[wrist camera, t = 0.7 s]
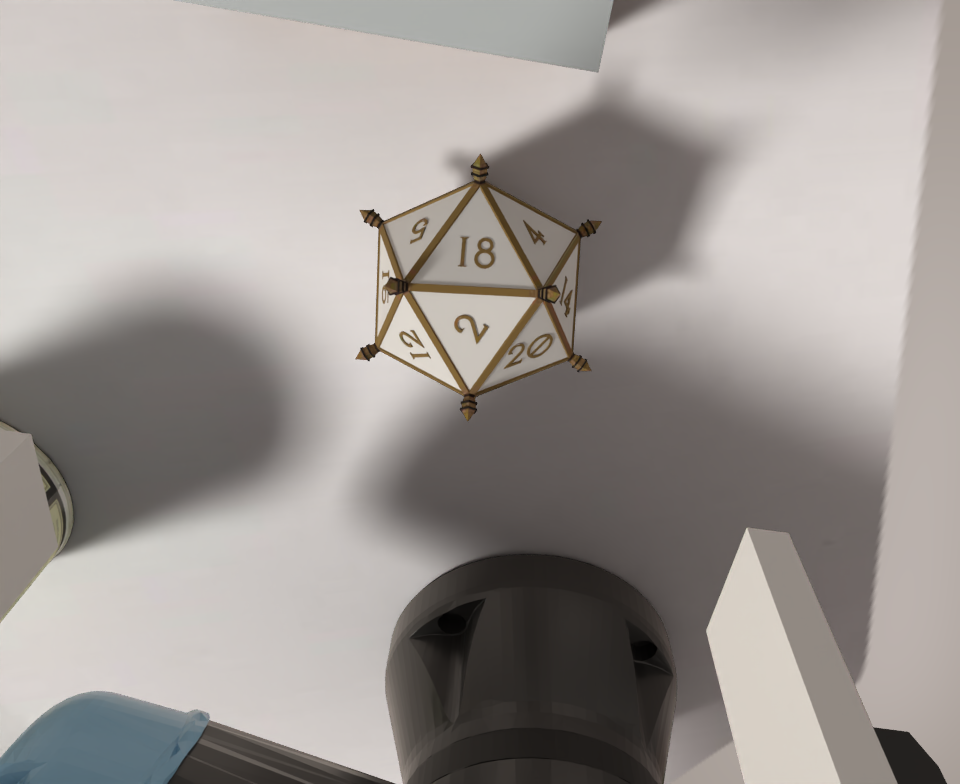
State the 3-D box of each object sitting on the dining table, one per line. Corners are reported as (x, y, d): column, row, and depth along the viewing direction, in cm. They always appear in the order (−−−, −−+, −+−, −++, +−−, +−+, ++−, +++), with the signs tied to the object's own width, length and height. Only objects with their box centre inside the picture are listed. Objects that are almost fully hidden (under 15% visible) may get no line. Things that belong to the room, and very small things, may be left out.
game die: (513, 195, 32) (681, 166, 24) (502, 389, 33) (660, 428, 25) (312, 168, 28) (431, 121, 19) (307, 393, 29) (418, 443, 20)
